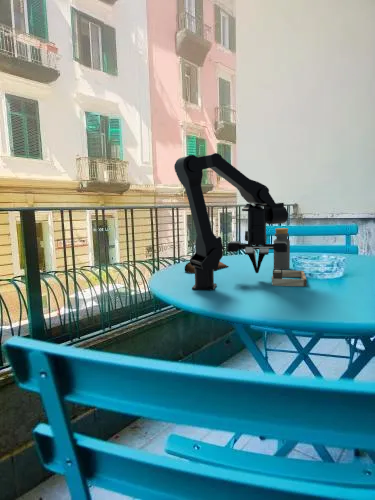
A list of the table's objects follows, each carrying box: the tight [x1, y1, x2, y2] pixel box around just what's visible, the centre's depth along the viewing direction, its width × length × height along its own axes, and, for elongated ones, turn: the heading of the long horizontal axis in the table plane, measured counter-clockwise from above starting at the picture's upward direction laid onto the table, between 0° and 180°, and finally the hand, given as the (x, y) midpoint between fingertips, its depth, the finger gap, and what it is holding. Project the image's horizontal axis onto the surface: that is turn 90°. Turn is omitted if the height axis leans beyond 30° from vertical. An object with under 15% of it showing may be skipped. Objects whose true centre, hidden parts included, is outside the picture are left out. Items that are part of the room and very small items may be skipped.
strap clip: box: [271, 268, 283, 279], centre depth 117 cm, size 8×3×4 cm, turn 173°
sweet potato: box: [184, 260, 229, 274], centre depth 139 cm, size 18×7×7 cm, turn 140°
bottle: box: [273, 227, 291, 271], centre depth 135 cm, size 6×6×15 cm
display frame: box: [271, 270, 308, 287], centre depth 116 cm, size 14×10×2 cm
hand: (257, 272), depth 118 cm, fingers closed
